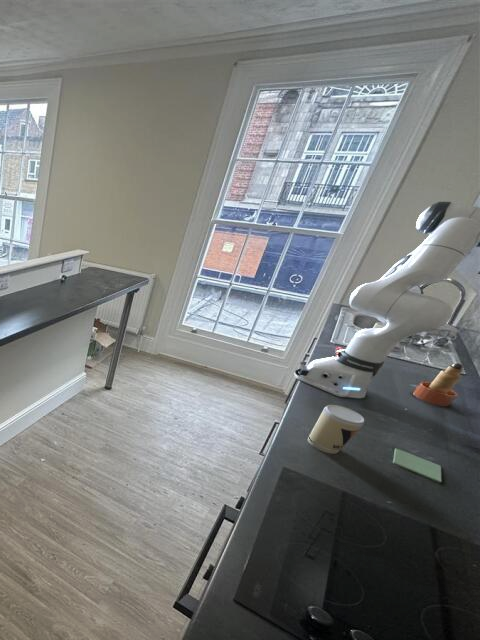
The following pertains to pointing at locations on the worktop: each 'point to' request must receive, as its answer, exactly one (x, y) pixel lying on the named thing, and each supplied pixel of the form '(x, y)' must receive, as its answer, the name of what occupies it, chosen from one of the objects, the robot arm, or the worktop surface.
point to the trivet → (417, 465)
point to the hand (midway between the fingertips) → (440, 336)
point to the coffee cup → (335, 428)
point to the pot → (434, 395)
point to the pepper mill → (446, 379)
